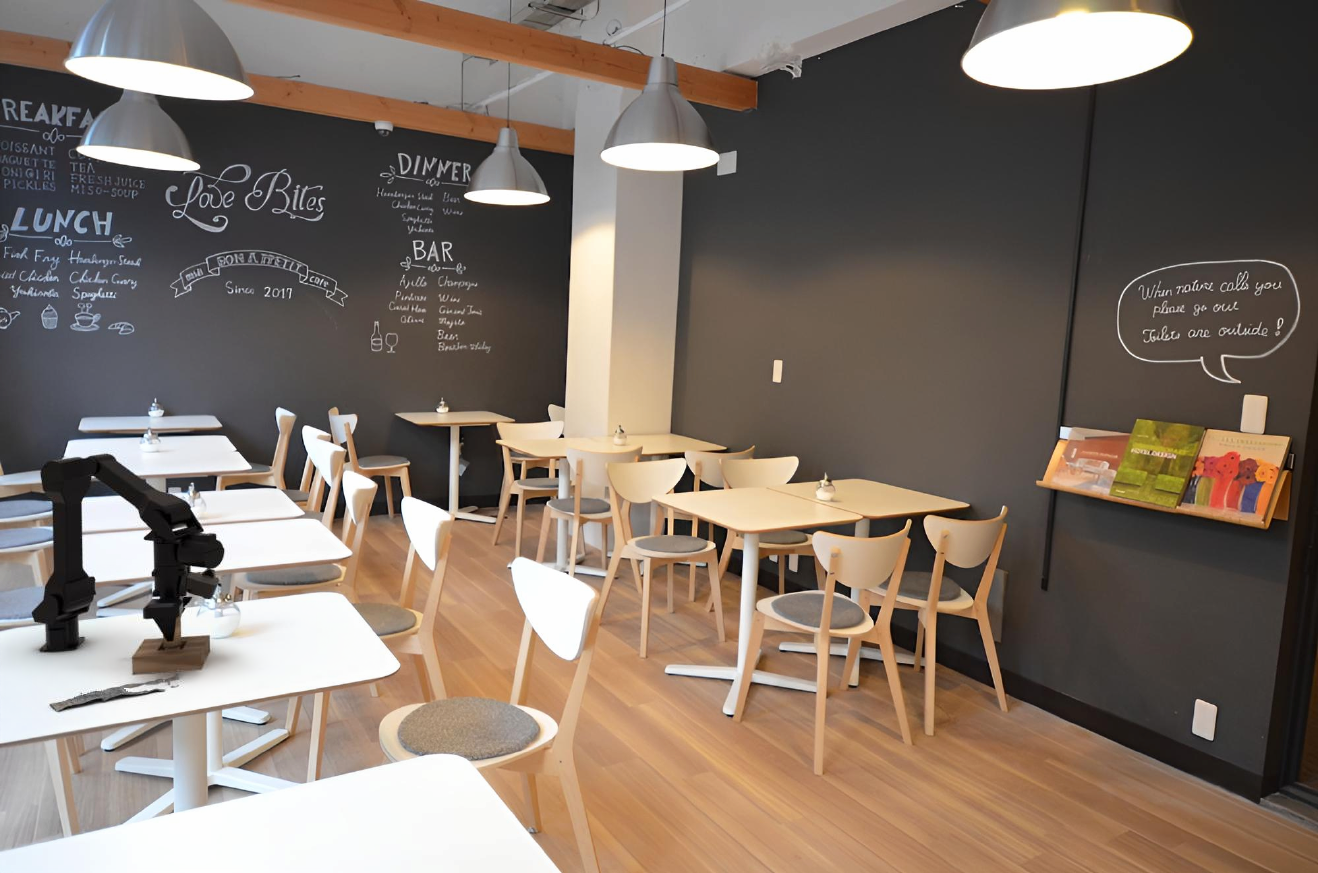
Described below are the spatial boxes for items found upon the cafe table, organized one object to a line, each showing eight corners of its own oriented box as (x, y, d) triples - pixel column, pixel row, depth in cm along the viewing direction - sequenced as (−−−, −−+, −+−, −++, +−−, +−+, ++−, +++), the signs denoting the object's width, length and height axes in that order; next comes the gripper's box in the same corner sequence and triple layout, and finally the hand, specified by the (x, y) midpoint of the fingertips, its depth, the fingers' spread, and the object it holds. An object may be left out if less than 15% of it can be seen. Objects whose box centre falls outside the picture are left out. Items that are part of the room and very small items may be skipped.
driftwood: (50, 716, 149) (49, 705, 149) (48, 702, 155) (48, 691, 154) (184, 692, 162) (184, 682, 162) (178, 680, 167) (178, 669, 167)
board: (145, 655, 176) (144, 639, 176) (210, 651, 180) (209, 635, 179) (132, 674, 167) (131, 657, 166) (201, 669, 170) (201, 652, 170)
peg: (165, 659, 174) (163, 602, 173) (183, 658, 175) (182, 601, 174) (161, 665, 171) (160, 607, 170) (180, 664, 172) (178, 606, 171)
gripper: (207, 574, 165) (208, 652, 166) (222, 549, 182) (223, 620, 184) (141, 577, 161) (143, 656, 163) (163, 551, 178) (165, 623, 180)
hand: (172, 638), depth 173 cm, fingers closed on peg, 3 cm apart
